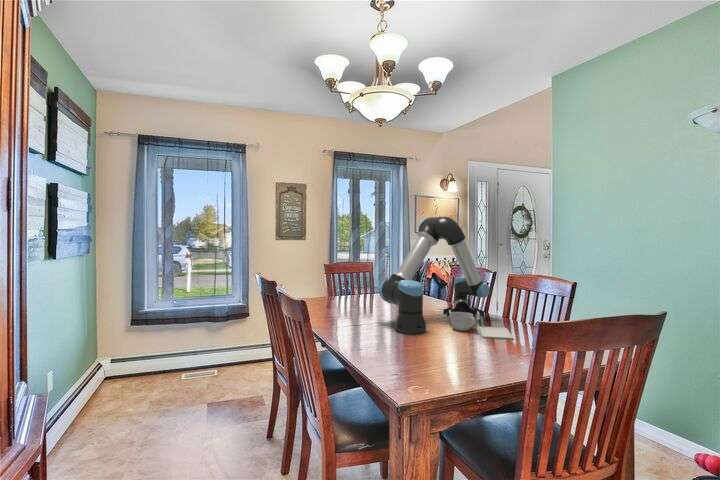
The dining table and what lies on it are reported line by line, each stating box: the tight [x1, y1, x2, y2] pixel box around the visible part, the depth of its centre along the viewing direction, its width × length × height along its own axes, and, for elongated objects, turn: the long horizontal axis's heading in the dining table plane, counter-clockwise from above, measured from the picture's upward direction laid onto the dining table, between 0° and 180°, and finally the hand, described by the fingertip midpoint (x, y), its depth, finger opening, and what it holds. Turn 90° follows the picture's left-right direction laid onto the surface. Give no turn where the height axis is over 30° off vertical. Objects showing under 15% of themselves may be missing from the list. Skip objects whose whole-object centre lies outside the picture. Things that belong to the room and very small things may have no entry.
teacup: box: [449, 312, 477, 332], centre depth 180 cm, size 14×11×8 cm
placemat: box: [478, 325, 515, 341], centre depth 174 cm, size 13×19×1 cm
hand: (464, 316), depth 185 cm, fingers open, 13 cm apart
